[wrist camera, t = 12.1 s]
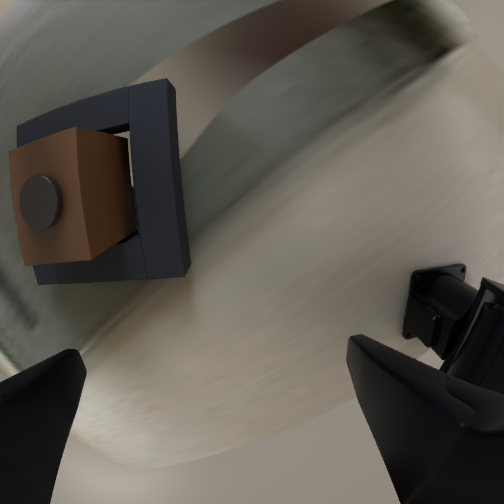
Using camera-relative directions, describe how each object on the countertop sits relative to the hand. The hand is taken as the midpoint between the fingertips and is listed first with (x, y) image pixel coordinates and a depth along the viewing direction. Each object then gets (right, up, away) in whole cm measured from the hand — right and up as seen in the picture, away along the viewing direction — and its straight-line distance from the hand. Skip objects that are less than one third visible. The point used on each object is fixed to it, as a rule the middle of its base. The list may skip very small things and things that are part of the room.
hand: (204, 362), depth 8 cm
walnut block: (-9, +8, +10) cm, 16 cm away
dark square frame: (-9, +8, +10) cm, 16 cm away
